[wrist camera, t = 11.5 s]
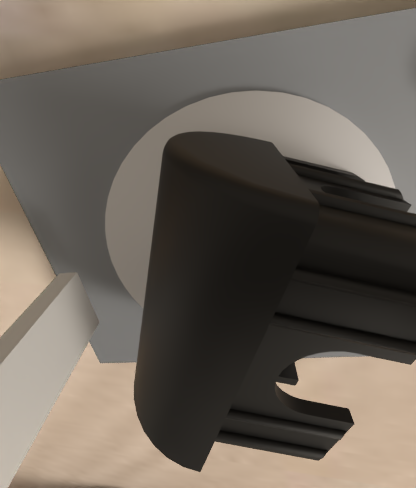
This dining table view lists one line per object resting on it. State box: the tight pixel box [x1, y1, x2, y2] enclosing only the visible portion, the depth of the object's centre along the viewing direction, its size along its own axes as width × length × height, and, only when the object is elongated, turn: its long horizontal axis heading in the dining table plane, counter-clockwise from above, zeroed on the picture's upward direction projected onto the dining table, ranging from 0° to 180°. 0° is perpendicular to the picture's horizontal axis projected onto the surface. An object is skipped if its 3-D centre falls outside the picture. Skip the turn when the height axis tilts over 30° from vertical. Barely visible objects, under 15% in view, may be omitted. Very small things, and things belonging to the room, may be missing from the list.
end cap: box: [134, 131, 416, 472], centre depth 10 cm, size 10×7×7 cm
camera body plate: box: [0, 8, 416, 363], centre depth 13 cm, size 20×16×2 cm
